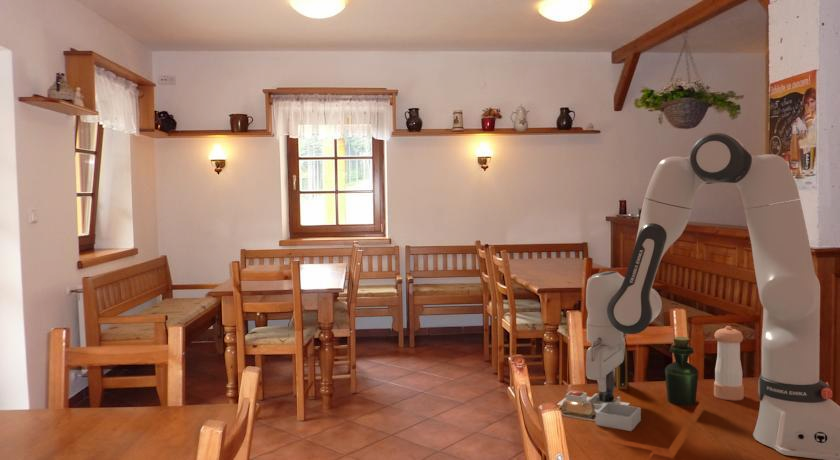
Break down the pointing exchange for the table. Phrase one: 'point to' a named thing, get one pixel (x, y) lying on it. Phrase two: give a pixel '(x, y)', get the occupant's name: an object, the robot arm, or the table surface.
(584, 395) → the battery tester
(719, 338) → the pepper shaker
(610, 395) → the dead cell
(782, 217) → the robot arm
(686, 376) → the potion bottle
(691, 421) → the table surface
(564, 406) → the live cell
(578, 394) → the button
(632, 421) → the grey square open box
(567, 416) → the trough
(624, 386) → the multimeter
